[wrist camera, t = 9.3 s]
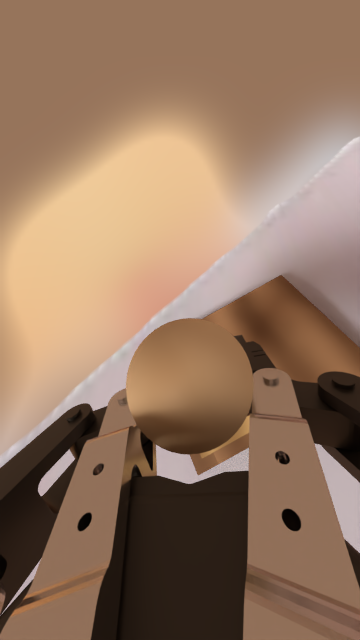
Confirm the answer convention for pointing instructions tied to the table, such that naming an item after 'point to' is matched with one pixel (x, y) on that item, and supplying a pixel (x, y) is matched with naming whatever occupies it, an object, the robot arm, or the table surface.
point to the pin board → (281, 346)
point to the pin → (189, 386)
